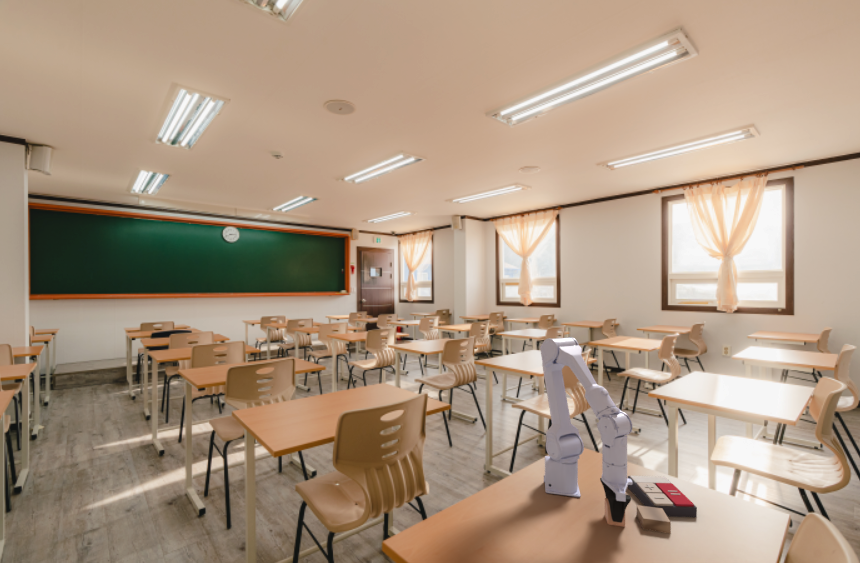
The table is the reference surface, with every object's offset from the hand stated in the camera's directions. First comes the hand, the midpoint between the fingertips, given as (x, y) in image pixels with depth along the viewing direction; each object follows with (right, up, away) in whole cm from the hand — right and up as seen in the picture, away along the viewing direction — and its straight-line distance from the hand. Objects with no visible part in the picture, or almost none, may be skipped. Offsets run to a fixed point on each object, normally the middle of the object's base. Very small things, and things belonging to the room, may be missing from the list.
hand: (614, 515), depth 98 cm
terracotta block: (0, -2, 0) cm, 2 cm away
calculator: (+17, -2, +9) cm, 19 cm away
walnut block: (+9, -2, -1) cm, 9 cm away
